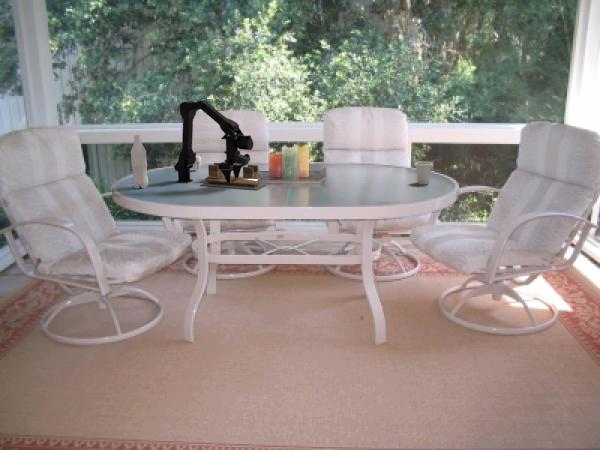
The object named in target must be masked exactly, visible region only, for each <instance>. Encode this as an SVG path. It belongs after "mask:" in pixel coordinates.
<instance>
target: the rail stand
mask: <svg viewBox="0 0 600 450" xmlns="http://www.w3.org/2000/svg"><path fill="white" fill-rule="evenodd" d="M219 163H220V162H214V163H213V164H208V166H207V167H208V176H216V177H224V175H223V173H222V171H221V170H220V169H218V164H219ZM231 178H235V176H234V175H231ZM238 178H246V179H258V180H259V181H261V180H262V181H263V178H262V177H259V165H258V164H248V165H247V166H243V167H242V176H239V177H238ZM205 181H206V182H207V177H205ZM262 181H261V182H262Z"/></svg>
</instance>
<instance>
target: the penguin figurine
mask: <svg viewBox="0 0 600 450" xmlns="http://www.w3.org/2000/svg"><path fill="white" fill-rule="evenodd" d="M201 167H202V157H201V156H200V155H198V154H196V161H195V163H194V164H193V167H192V168H191V170H194V172H198V171H199V170H200V169H201Z"/></svg>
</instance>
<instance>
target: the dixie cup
mask: <svg viewBox="0 0 600 450" xmlns="http://www.w3.org/2000/svg"><path fill="white" fill-rule="evenodd" d="M415 167H416V168H415V169H416V182H417V184H419V185H429V184H430V181H431V175H432V169H433V162H431V161H416V162H415Z"/></svg>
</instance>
